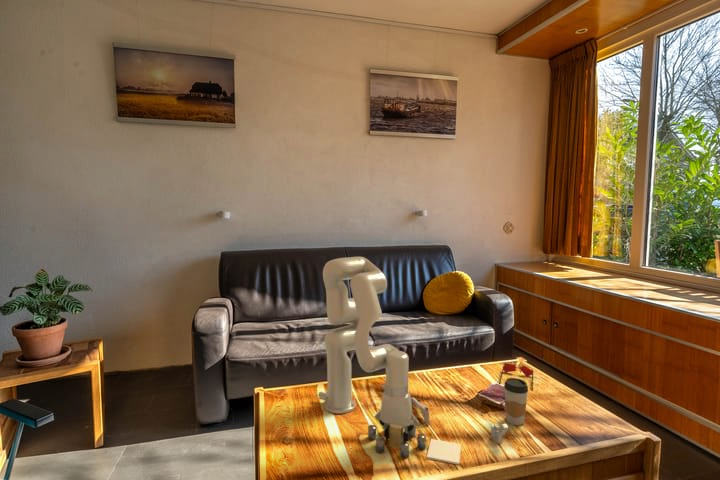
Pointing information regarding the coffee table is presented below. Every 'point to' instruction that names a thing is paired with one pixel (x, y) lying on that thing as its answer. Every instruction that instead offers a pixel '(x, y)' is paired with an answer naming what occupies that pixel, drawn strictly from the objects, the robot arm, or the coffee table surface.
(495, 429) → the lighter
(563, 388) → the coffee table surface
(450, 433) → the coffee table surface
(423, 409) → the caliper
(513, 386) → the coffee cup
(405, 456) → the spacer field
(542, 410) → the coffee table surface
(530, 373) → the glasses
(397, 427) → the tan rectangular block
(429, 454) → the coaster
